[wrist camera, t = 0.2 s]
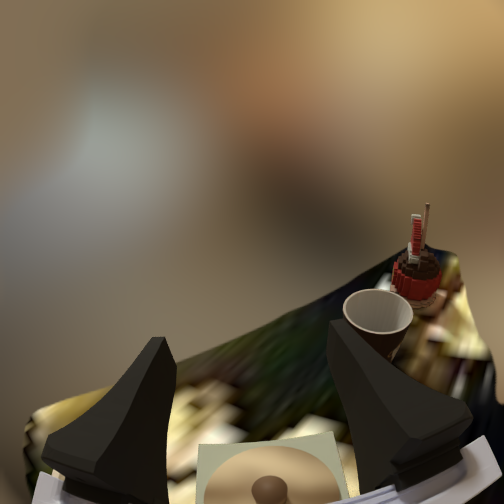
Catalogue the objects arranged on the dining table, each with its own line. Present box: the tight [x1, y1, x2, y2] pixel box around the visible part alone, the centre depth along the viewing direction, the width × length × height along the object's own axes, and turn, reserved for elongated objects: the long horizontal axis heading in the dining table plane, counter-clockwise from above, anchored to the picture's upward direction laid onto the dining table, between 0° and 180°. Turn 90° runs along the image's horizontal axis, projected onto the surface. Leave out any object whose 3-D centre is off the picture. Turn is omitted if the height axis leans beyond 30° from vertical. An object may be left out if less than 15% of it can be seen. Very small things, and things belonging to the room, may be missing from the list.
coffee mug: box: [343, 289, 413, 363], centre depth 32 cm, size 12×9×10 cm
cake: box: [390, 203, 442, 308], centre depth 42 cm, size 11×9×18 cm
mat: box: [196, 431, 349, 504], centre depth 18 cm, size 15×15×1 cm
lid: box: [204, 446, 339, 504], centre depth 17 cm, size 13×13×5 cm
